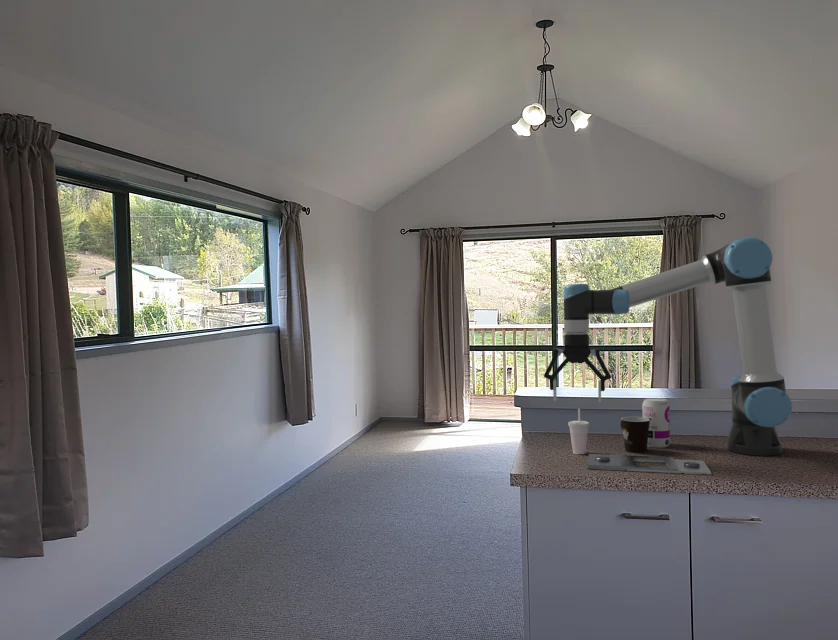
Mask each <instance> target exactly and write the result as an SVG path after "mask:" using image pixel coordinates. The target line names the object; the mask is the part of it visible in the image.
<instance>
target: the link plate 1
mask: <svg viewBox="0 0 838 640" xmlns="http://www.w3.org/2000/svg"><path fill="white" fill-rule="evenodd" d="M633 459H636V460H660V461H666V463H667V465H666V466H663V465H662V466H661V465H641V464H640V465H637V464H635V463H634V462H635V461H633ZM674 459H675V458H674V457H673V456H652V455H651V456H646V455H645V456H644V455H626V454H625V455H623V454H600V453H599V454H598V453H589V454H588V458H587V462H588V463H587V470H600V471H601V470H602V471H622V472H623V471H624V472H626V469H643V470H664V471H678V468H677V465H676V463H675V461H674ZM666 463H665V464H666ZM667 466H668V467H667Z"/></svg>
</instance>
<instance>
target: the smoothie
mask: <svg viewBox="0 0 838 640" xmlns="http://www.w3.org/2000/svg"><path fill="white" fill-rule="evenodd" d="M577 412H578V417H577V418H578V419H577V420H570V421H568V427H569V432H570V440H571V441H570V442H571V447H572V448H571V449H572V452H573V454H574V455H578V454H582V455H586V453H587V451H586V450H587V449H586V448H587V440H588V431H589V427H590V422H588V421H585V420H581V408H578V409H577Z"/></svg>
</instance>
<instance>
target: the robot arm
mask: <svg viewBox="0 0 838 640" xmlns="http://www.w3.org/2000/svg"><path fill="white" fill-rule="evenodd" d="M772 262H773V253H772V249H771V248H770V247H769V245H768V244H767V243H766V242H764V241H763V240H761V239H760V238H756V237H752V236H751V237H750V236H749V237H740V238H737V239H734V240H733V241H731V242H730V243H728V244H726V245H724V246H723V247H721V248H719V249H717V250H714V251H713V252H710V253H707V254H705V255H703V256H702V257H701V259H699V260H696V261H694V262H690V263H687V264H684V265H682V266H678V267H676V268H675V267H674V268H672V269H669V270H665V271H663V272H660V273H657V274H653V275H650V276H648V277H645V278H642V279H639V280H635V281H632V282H629V283H626V284H623V285H621V286H618V287H614V288H611V289H597V290H594V289H590V287H589V284H587V283H572V284H571V283H568V284H566V285H565V286H564V288H563V291H564V292H563V316H564V318H563V319H564V320H563V327H564V328H563V331H564V333H565V334H564V335H563V337H564V340H563V341H564V342H563V343H564V344H563V345H564V347H563V349H560V348H555V349H554V351H553V356H552V359H551V360H550V362H549V364H548V366H547V369H546V370H545V372H544V374H543V378H544V379H548V380H549V390H550V391H552V392H553V399H552V400H553V402H557V379H556V377H557V376H558V374H559V373H560V372H561V371H562V370H563V369H564V367H566V365H567V364H568V363H570V364H583V363H585V364H586V365H587V366H588V367H589V368H590V369H591V371H592V372H593V373H594V374H595V375H596V376H597V377H598V380H597V381H598V382H597V383H598V385H597V386H598V387H597V388H598V394H597V395H598V403H602V392H605V390H606V381H607V380H610V379H611V378H612V377H611V376H612V375H611V374H610V372H609V370H608V368H607V366H606V364H605V363H604V360H603V359H602V357H601V352H600V349H599V348H595V349H590V335H589V332H590V321H589V319H590V315H625V314H626V315H627V314H628V313H629V312H630V308H632V307H635V306H639V305H642V304H645V303H649V302H652V301H656V300H658V299H662V298H665V297H667V296H671V295H673V294H677V293H680V292H684V291H686V290H690V289H693V288H696V287H699V286H703V285H706V284H712V285H717V284H720V283H725V288H726V289H728V290H729V292H731V293H732V299H733V306H734V312H735V314H734V315H735V320H736V328H737V329H736V330H737V336H738V337H737V338H738V343H739V351H740V352H739V353H740V360H741V366H742V367H741V368H742V375H741V376H739V375H738V376H733V377H732V379H731V385H730V389H731V418H732V419H731V420H732V421H731V427H730V428H729V429H730V430H729V432H728V435H727V437H726V438H727V439H726V443H725V444H726V446H725V447H726V450H727V451H729V452H730V451H731V452H733V453H736V454H737V453H738V454H741V455H742V454H743V455H749V456H776V455H778V456H779V455H781V454H782V453H783V446H782V445H783V444H782V443H781V439H780V437H779V433H778V432H777V431H778V430H777V428H776V427H778V426H781V425H782V424H784V423H785V422H787V420H788V419H789V418H790V417H791V414H792V411H793V404H792V401H791V398H790V396H789V395H788V394H787V390H786V384H785V377H784V376H783V374H781V373H779V372H778V370H777V364H776V363H777V360H776V355H775V345H774V340H773V332H772V331H773V330H772V324H771V318H770V317H771V316H770V309H769V301H768V295H767V293H768V291H767V288H768V286H769V285H770V284H771V283H772V277H771V266H772ZM562 354H563V355H564V357H565V359H564V360H563V361H562V363H561V364H559V366H558V367H557V368H556V369H555V370H554V371H553V373H551V371H552V370H553V368H554V366H555V363H556V362H557V359H558V357H560V356H561V355H562ZM591 354H592V356H593V357H596V361H597V362H598V364H599V366H600V368H601V370H602V371H603V373H604V375H603V374H602V373H601V372H600V370H599V369H598V368H597V367H596V366H595V365H594V364H593V363H592V362H591V360H590V359H589V357H590V355H591ZM550 373H551V374H550Z"/></svg>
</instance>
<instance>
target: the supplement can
mask: <svg viewBox="0 0 838 640" xmlns="http://www.w3.org/2000/svg"><path fill="white" fill-rule="evenodd" d="M641 405H642V409H641V410H642V417H644V418H648V419H650V422H649V432H648V442H647V448H655V449H661V448H662V449H663V448H667V447H669V446H670V445H671V417H670V415H671V414H670V413H671V412H670V411H671V410H670V408H671V407H670V403H669V402H668V399H666V398H660V397H648V398H644V400H643V402H642V403H641Z"/></svg>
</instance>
